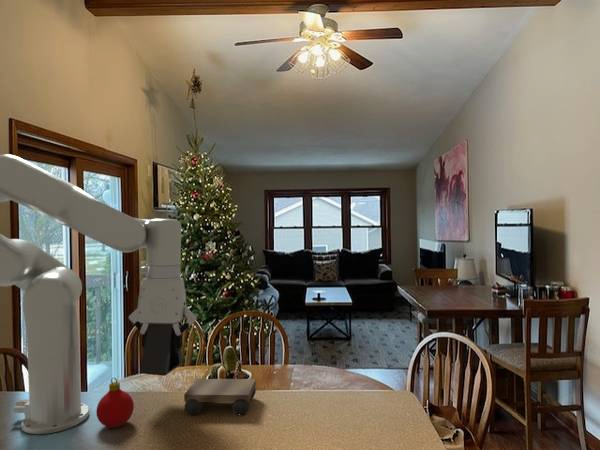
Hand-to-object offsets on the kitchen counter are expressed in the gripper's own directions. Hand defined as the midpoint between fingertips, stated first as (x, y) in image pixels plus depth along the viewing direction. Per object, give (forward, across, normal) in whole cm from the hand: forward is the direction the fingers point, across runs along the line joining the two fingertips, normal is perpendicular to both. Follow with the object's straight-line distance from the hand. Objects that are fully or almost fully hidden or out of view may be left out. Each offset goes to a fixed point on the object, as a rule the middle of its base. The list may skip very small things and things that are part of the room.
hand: (162, 350), depth 100 cm
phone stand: (+4, 0, 0) cm, 4 cm away
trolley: (+12, +14, -1) cm, 19 cm away
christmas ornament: (+13, -6, -10) cm, 18 cm away
